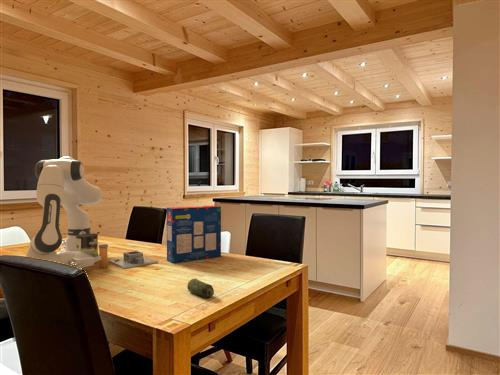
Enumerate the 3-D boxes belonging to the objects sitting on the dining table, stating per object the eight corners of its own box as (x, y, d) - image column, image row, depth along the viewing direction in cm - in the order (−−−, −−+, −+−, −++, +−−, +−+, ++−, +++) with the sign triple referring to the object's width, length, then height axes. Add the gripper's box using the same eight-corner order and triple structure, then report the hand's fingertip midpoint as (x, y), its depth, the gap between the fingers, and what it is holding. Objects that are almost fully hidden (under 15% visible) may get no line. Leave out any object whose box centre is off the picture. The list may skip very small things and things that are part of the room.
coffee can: (102, 260, 182) (102, 233, 182) (89, 265, 172) (89, 236, 172) (85, 259, 184) (84, 233, 184) (71, 264, 174) (71, 236, 174)
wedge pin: (97, 267, 167) (97, 244, 167) (106, 266, 170) (106, 243, 170) (100, 269, 164) (100, 246, 164) (109, 267, 167) (109, 244, 167)
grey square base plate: (108, 262, 178) (108, 252, 177) (141, 257, 190) (141, 248, 190) (123, 268, 164) (123, 258, 164) (157, 262, 177) (157, 253, 177)
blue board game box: (214, 254, 197) (214, 205, 197) (221, 256, 190) (220, 206, 190) (166, 260, 181) (166, 207, 181) (172, 263, 175) (172, 208, 174)
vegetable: (184, 291, 131) (184, 278, 131) (196, 289, 134) (196, 276, 134) (205, 301, 120) (205, 287, 120) (217, 298, 124) (217, 284, 123)
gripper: (72, 257, 148) (105, 253, 157) (59, 250, 163) (90, 246, 172) (72, 272, 148) (105, 266, 157) (59, 263, 163) (90, 259, 172)
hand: (97, 256), depth 165 cm, fingers open, 8 cm apart
